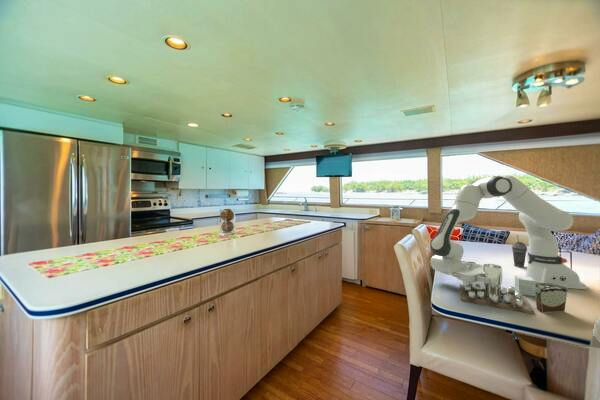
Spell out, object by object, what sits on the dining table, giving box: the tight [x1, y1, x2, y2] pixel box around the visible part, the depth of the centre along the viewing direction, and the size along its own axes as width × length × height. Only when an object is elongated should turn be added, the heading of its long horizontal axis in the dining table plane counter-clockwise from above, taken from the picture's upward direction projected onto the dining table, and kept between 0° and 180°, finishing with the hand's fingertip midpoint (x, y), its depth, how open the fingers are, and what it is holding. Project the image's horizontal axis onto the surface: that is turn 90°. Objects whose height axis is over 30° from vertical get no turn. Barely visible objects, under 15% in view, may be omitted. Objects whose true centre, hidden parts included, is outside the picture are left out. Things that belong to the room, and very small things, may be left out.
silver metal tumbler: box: [482, 263, 503, 302], centre depth 110 cm, size 7×7×15 cm
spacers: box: [465, 283, 523, 309], centre depth 110 cm, size 20×17×4 cm
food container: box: [533, 282, 570, 314], centre depth 100 cm, size 12×6×10 cm, turn 92°
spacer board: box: [459, 284, 534, 315], centre depth 110 cm, size 24×18×1 cm
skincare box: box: [514, 275, 537, 297], centre depth 116 cm, size 6×6×7 cm
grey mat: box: [462, 281, 485, 288], centre depth 127 cm, size 13×12×1 cm
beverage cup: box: [511, 234, 528, 268], centre depth 154 cm, size 7×7×20 cm
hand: (494, 279), depth 109 cm, fingers closed on silver metal tumbler, 6 cm apart
